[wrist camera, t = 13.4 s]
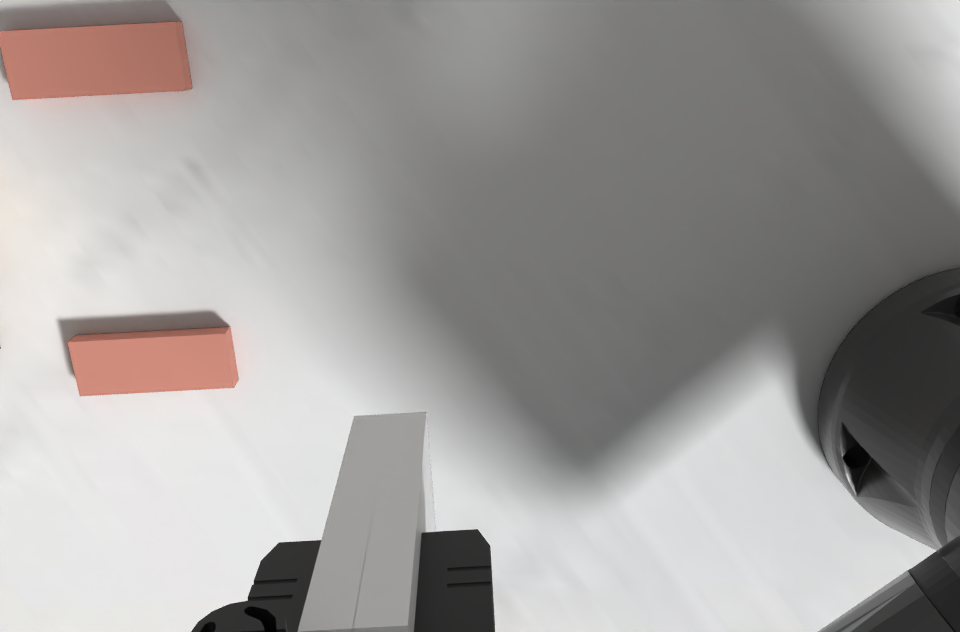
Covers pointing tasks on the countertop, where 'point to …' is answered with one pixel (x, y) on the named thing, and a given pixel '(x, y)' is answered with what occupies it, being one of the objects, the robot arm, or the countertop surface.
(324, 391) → the countertop surface
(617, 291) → the countertop surface
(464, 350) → the countertop surface
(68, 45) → the mats
